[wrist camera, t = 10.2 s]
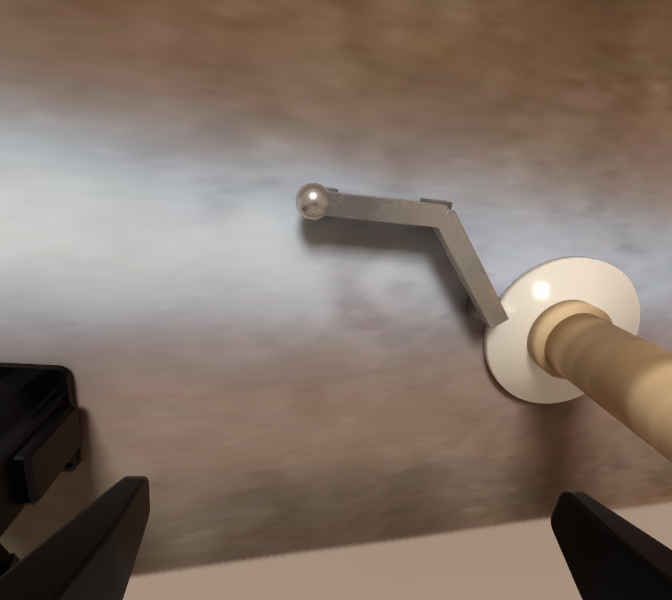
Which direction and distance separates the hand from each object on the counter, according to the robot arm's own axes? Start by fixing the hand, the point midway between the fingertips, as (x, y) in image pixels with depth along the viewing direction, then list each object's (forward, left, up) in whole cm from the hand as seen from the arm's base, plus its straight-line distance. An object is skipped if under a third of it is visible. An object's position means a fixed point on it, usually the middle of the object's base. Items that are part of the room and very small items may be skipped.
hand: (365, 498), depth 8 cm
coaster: (+14, -1, -13) cm, 19 cm away
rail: (+4, +3, -13) cm, 14 cm away
